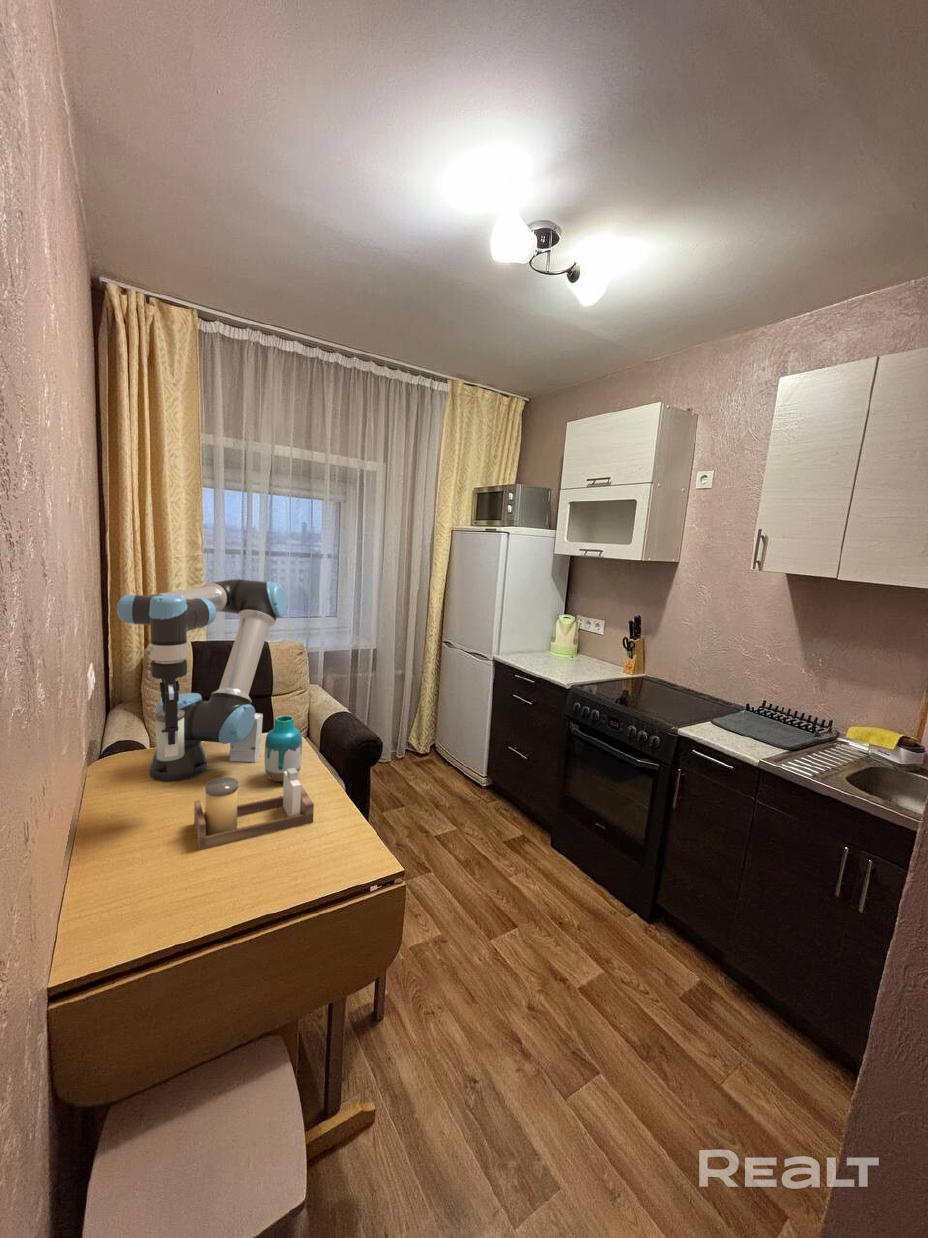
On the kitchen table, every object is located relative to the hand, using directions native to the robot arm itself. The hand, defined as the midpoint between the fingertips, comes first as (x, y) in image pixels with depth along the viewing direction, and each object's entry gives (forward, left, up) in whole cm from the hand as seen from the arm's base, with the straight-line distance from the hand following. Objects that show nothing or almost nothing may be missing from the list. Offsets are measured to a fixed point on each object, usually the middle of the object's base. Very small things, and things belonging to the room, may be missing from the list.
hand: (170, 750), depth 121 cm
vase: (-10, +30, -18) cm, 36 cm away
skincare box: (-29, +23, -18) cm, 41 cm away
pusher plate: (+11, +27, -18) cm, 34 cm away
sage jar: (0, 0, -1) cm, 1 cm away
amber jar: (+11, +10, -18) cm, 24 cm away
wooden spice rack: (+11, +18, -18) cm, 28 cm away
